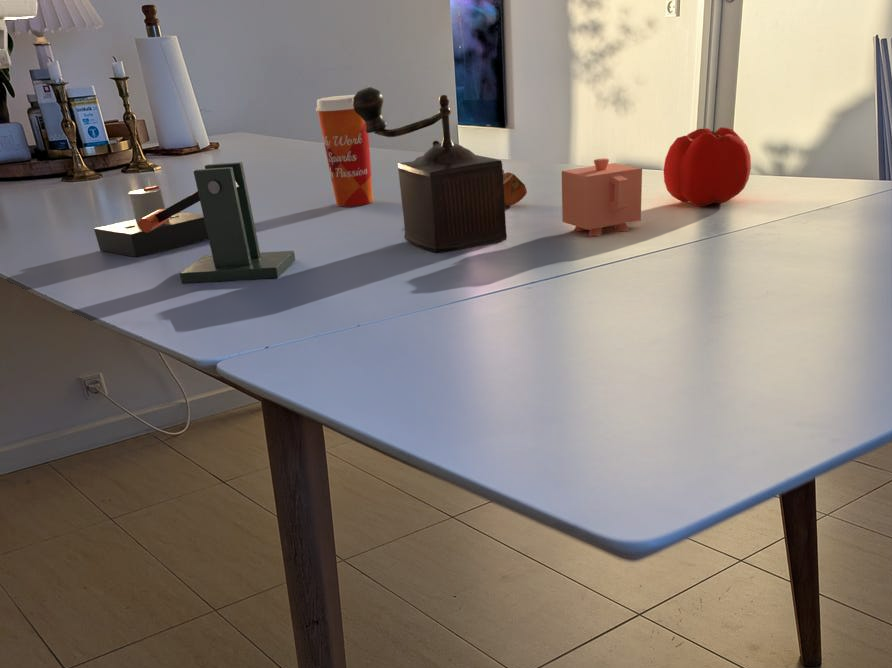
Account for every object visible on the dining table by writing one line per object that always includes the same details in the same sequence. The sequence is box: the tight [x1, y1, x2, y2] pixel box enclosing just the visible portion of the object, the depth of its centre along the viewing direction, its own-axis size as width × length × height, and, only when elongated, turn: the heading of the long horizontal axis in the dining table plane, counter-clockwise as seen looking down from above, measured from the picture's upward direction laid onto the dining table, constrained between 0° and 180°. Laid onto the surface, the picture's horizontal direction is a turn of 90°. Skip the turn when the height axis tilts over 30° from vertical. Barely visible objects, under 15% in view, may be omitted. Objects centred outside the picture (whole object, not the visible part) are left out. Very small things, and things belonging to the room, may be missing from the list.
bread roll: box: [503, 169, 528, 207], centre depth 136 cm, size 8×7×5 cm
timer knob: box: [128, 185, 166, 224], centre depth 129 cm, size 4×4×4 cm
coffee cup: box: [315, 94, 374, 208], centre depth 145 cm, size 8×8×15 cm
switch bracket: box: [179, 161, 296, 284], centre depth 111 cm, size 12×9×12 cm
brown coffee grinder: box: [353, 86, 508, 254], centre depth 114 cm, size 16×11×18 cm
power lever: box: [139, 167, 239, 232], centre depth 110 cm, size 12×6×2 cm, turn 85°
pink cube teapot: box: [561, 157, 643, 237], centre depth 117 cm, size 8×12×8 cm, turn 23°
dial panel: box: [93, 211, 209, 258], centre depth 132 cm, size 13×10×3 cm
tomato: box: [663, 127, 752, 207], centre depth 126 cm, size 11×12×9 cm
